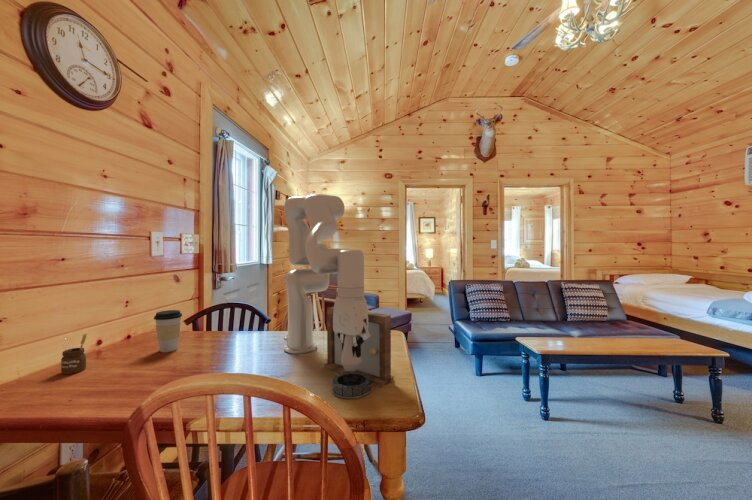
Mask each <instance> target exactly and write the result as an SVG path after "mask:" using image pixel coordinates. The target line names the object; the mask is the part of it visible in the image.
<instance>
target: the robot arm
mask: <svg viewBox="0 0 752 500" xmlns="http://www.w3.org/2000/svg"><path fill="white" fill-rule="evenodd" d="M345 209H346V208H345V204H344V200H343V199H341V197H340V196H338V195H333V194H332V195H331V194H322V193H320V194H319V193H314V194H310V195H309V194H308V195H307V196H301V195H300V196H299V195H298V196H291V197H288V198H287V199H286V200H285V202H284V205H283V214H284V219H285V221H286V225H287V228H288V229H287V230H288V258H289V262H290V264H291V265H294V266H298V267H299V266H303V267H305V266H310V268H301V269H300V268H299V269H298V268H295V269H292V270H289V271H288V272H287V273H286V275H285V277H284V284H285V289H286V296H287V335H286V336H285V337H284V338H283V340H284V341H286V344H285V345H284V346H283V351H284V352H286V353H289V354H295V355H297V354H298V355H299V354H306V353H307V354H308V353H310V352H312V351H315V350H316V349H317V343H316V342H314V339H313V337H314V335H313V333H314V332H313V330H314V329H313V324H314V323H313V303H312V301H311V299H310V298H309V296H308V295H307V294H308V293H318V292H326V291H327V290H328V289H329V286H330V275H331V274H337V287H336V288H335V291H336V293H337V296H336V297H335V300H334V305H333V306H334V310H333V331H334V332H335V333H336V334H337V335H338V337H339V339H340V343H342V351H343V346H344V339H345V335H349V336H353V345H354V346H352V352H353V357H354V354H355V352H356V357H360V356H361V344H363V342H364V341H365V340H367V339H369V338H370V337H371V335H370V333H369V330H368V327H369V321H368V312H369V310H368V303H367V299H366V298H365V254H364V251H363V250H361V249H354V248H353V249H350V248H329V247H328V245H327V244H326V243H324V242H323V241H324V240H328V239H329V238H331V237H333V236H334V235H335V234H336V232H337V230H338V222H337V220H340V219H342V217H343V216H344V215H345ZM306 220H307V221H308V223H309V225H308V223H307V222H306ZM362 333H363V336H362ZM357 337H358V340H357Z"/></svg>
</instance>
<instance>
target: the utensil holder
mask: <svg viewBox="0 0 752 500" xmlns="http://www.w3.org/2000/svg"><path fill="white" fill-rule="evenodd" d="M86 338H87V333H84V334H83V335H82V339H81V341H80V347H73V346H74V345H73V340H72V339H70V340H68V337H66V338H64V339H63V343H61V344H62V347H63V349H64V350H63V351H62V357H61V359H60V372H61V375H72V374H77V373H80V372H82V371H85V370H86V368H87V355H86V353H85V348H84V347H83V345H84V344H85V342H86ZM67 340H68V342H67ZM70 341H71V342H70ZM66 342H67V343H66ZM64 345H65V346H68V345H69V346H68V347H69V348H65V346H64Z"/></svg>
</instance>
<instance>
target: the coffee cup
mask: <svg viewBox="0 0 752 500" xmlns="http://www.w3.org/2000/svg"><path fill="white" fill-rule="evenodd" d="M182 317H183V313H182V312H181V310H178V309H173V310H172V309H169V310H168V309H167V310H161V311H157V312H156V314H155V315H154V316H153V320H155V330H156V338H157V340H158V341H157V342H158V348H159V349H158V350H159V352H160V353H170V352H175V351H176V350H178V348H179V339H180V336H181V333H180V332H181V324H182V323H181V321H182Z"/></svg>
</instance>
